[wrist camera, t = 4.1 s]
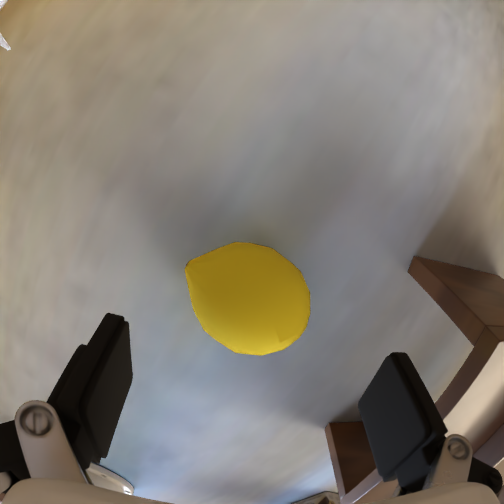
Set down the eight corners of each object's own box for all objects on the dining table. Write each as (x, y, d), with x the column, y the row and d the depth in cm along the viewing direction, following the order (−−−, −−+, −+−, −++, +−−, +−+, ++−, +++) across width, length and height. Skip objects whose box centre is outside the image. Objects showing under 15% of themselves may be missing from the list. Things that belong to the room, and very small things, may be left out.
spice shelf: (324, 429, 24) (346, 535, 14) (413, 255, 17) (529, 375, 7) (407, 423, 25) (441, 507, 15) (498, 275, 18) (587, 357, 8)
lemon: (324, 268, 17) (352, 323, 12) (270, 331, 19) (278, 394, 14) (221, 202, 16) (211, 238, 11) (173, 278, 17) (150, 335, 12)
